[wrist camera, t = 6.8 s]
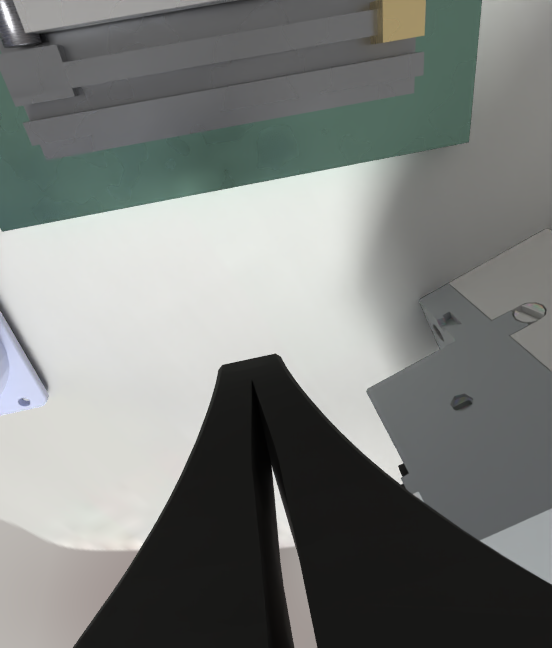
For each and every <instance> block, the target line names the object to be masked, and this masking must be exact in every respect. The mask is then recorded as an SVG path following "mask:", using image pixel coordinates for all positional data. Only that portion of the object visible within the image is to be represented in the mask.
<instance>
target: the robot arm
mask: <svg viewBox="0 0 552 648" xmlns="http://www.w3.org/2000/svg"><path fill="white" fill-rule="evenodd" d="M48 397H49V395H48V392H47V391H46V389H45V387H44V386H43V384H42V382H41V380H40V379H39V377H38V375H37V373H36V372H35V370H34V368H33V367H32V365H31V363H30V361H29V360H28V358H27V356H26V354H25V353H24V351H23V349H22V348H21V346H20V344H19V342H18V341H17V339H16V337H15V336H14V334H13V332H12V330H11V329H10V327H9V325H8V323H7V322H6V320H5V318H4V317H3V315H2V313H1V311H0V416H1V415H5V414H10V413H14V412H19V411H24V410H28V409H33V408H38V407H41V406H44V405H45V404H46V402H47V400H48ZM22 398H26V399H28V400H29V401H25V400H23V399H22ZM272 468H273V471H274V475H275V478H276V482H277V485H278V488H279V492H280V495H281V499H282V502H283V505H284V509H285V512H286V515H287V519H288V522H289V526H290V529H291V532H292V536H293V539H294V543H295V546H296V549H297V553H298V556H299V560H300V565H301V570H302V574H303V579H304V584H305V589H306V594H307V599H308V603H309V608H310V613H311V618H312V623H313V628H314V633H315V638H316V643H317V648H552V584H550V583H548V582H547V581H545V580H543V579H541V578H540V577H538V576H536V575H535V574H533V573H531V572H530V571H528V570H526V569H525V568H523V567H521V566H520V565H518V564H516V563H515V562H513V561H511V560H510V559H508V558H506V557H505V556H503V555H501V554H500V553H498V552H497V551H495V550H494V549H492V548H491V547H489V546H487V545H486V544H484V543H483V542H481V541H480V540H478V539H476V538H475V537H473V536H472V535H470V534H469V533H467V532H466V531H464V530H462V529H461V528H460V527H458V526H457V525H455V524H454V523H453V522H451V521H450V520H448V519H447V518H446V517H444V516H443V515H441V514H440V513H438V512H437V511H436V510H434V509H433V508H431V507H430V506H429V505H427V504H426V503H424V502H423V501H422V500H420V499H419V498H417V497H416V496H415V495H413V494H412V493H410V492H409V491H408V490H407V489H405V488H404V487H403V486H402V485H400V484H399V483H398V482H396V481H395V480H394V479H393V478H391V477H390V476H389V475H388V474H386V473H385V472H384V471H383V470H382V469H381V468H379V467H378V466H377V465H376V464H375V463H373V462H372V461H371V460H370V459H369V458H368V457H366V456H365V455H364V454H363V453H362V452H361V451H360V450H359V449H358V448H357V447H356V446H354V445H353V444H352V443H351V442H350V441H349V440H348V439H347V438H346V437H345V436H344V435H343V434H342V433H341V432H340V431H339V430H338V429H337V428H336V427H335V426H334V425H333V424H332V423H331V422H330V421H329V420H328V419H327V417H326V416H325V415H324V414H323V413H322V412H321V411H320V410H319V408H318V407H317V406H316V405H315V404H314V403H313V402H312V400H311V399H310V398H309V397H308V396H307V395H306V393H305V392H304V391H303V390H302V388H301V387H300V386H299V384H298V383H297V382H296V380H295V379H294V378H293V376H292V375H291V373H290V372H289V370H288V369H287V367H286V366H285V364H284V362H283V360H282V358H281V357H280V356H279V355H277V354H272V355H267V356H262V357H258V358H253V359H248V360H244V361H239V362H234V363H230V364H225V365H222V366H221V367H220V369H219V370H218V376H217V380H216V384H215V388H214V392H213V395H212V398H211V402H210V405H209V408H208V411H207V413H206V416H205V419H204V422H203V424H202V427H201V430H200V432H199V435H198V438H197V440H196V443H195V445H194V447H193V449H192V452H191V454H190V456H189V458H188V461H187V463H186V465H185V467H184V470H183V472H182V474H181V476H180V478H179V480H178V482H177V484H176V486H175V488H174V490H173V492H172V494H171V496H170V498H169V500H168V502H167V504H166V505H165V507H164V509H163V511H162V513H161V514H160V516H159V518H158V520H157V522H156V523H155V525H154V527H153V529H152V530H151V532H150V534H149V535H148V537H147V538H146V540H145V542H144V543H143V545H142V547H141V548H140V550H139V552H138V553H137V555H136V557H135V558H134V560H133V562H132V563H131V565H130V566H129V568H128V569H127V571H126V572H125V574H124V575H123V577H122V578H121V580H120V582H119V583H118V585H117V586H116V587H115V589H114V590H113V592H112V593H111V595H110V596H109V597H108V599H107V600H106V602H105V603H104V605H103V606H102V607H101V609H100V610H99V611H98V613H97V614H96V616H95V617H94V619H93V620H92V621H91V623H90V624H89V626H88V627H87V628H86V630H85V631H84V633H83V634H82V636H81V637H80V638H79V640H78V641H77V643H76V644H75V645H74V647H73V648H294V643H293V638H292V632H291V627H290V620H289V615H288V609H287V603H286V598H285V592H284V587H283V579H282V572H281V563H280V553H279V542H278V531H277V520H276V509H275V497H274V487H273V476H272Z"/></svg>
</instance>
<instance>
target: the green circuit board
mask: <svg viewBox="0 0 552 648" xmlns="http://www.w3.org/2000/svg"><path fill="white" fill-rule="evenodd" d="M481 4H482V0H237V1H231V2H225V3H219V4H213V5H207V6H201V7H196V8H190V9H184V10H178V11H172V12H166V13H160V14H154V15H149V16H143V17H137V18H131V19H125V20H119V21H113V22H107V23H101V24H96V25H90V26H84V27H78V28H72V29H66V30H60V31H54V32H49V33H43V34H39V37H40V39H41V42H42V43H40V44H36V45H31V46H25V47H17V48H4V46H3V44H2V41H1V39H0V228H1V230H2V231H8V230H13V229H18V228H23V227H29V226H34V225H39V224H44V223H49V222H55V221H60V220H65V219H70V218H76V217H81V216H86V215H91V214H96V213H102V212H107V211H112V210H117V209H123V208H128V207H133V206H138V205H144V204H149V203H154V202H159V201H164V200H170V199H175V198H180V197H185V196H191V195H196V194H201V193H206V192H211V191H217V190H222V189H227V188H232V187H238V186H243V185H248V184H253V183H258V182H264V181H269V180H274V179H279V178H285V177H290V176H295V175H300V174H305V173H311V172H316V171H321V170H326V169H332V168H337V167H342V166H347V165H353V164H358V163H363V162H368V161H373V160H379V159H384V158H389V157H394V156H400V155H405V154H410V153H415V152H420V151H426V150H431V149H436V148H441V147H447V146H452V145H457V144H462V143H467V142H469V135H470V124H471V113H472V102H473V91H474V80H475V70H476V59H477V48H478V37H479V26H480V15H481Z"/></svg>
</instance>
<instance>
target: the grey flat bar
mask: <svg viewBox="0 0 552 648" xmlns="http://www.w3.org/2000/svg"><path fill="white" fill-rule="evenodd" d="M231 1H237V0H0V39H1V41H2V44H3V46H4V48H17V47H25V46H31V45H36V44H40V43H42V42H41V39H40V37H39V34H43V33H49V32H54V31H60V30H66V29H72V28H78V27H84V26H90V25H96V24H101V23H107V22H113V21H119V20H125V19H131V18H137V17H143V16H149V15H154V14H160V13H166V12H172V11H178V10H184V9H190V8H196V7H201V6H207V5H213V4H219V3H225V2H231Z"/></svg>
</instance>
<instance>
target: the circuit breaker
mask: <svg viewBox="0 0 552 648" xmlns="http://www.w3.org/2000/svg"><path fill="white" fill-rule="evenodd" d="M419 302H420V304H421V307H422V309H423V311H424V314H425V316H426V318H427V320H428V323H429V325H430V327H431V330H432V332H433V334H434V337H435V339H436V341H437V343H438V346H439V348H440V350H438V351H436V352H435V353H433V354H431V355H429V356H427V357H425V358H424V359H422V360H420V361H418V362H416V363H414V364H412V365H411V366H409V367H407V368H405V369H403V370H401V371H400V372H398V373H396V374H394V375H392V376H390V377H388V378H387V379H385V380H383V381H381V382H379V383H377V384H376V385H374V386H372V387H370V388H368V389H367V391H366V392H367V394H368V396H369V398H370V400H371V402H372V403H373V405H374V407H375V409H376V411H377V413H378V415H379V417H380V419H381V421H382V423H383V425H384V426H385V428H386V430H387V432H388V434H389V436H390V438H391V440H392V442H393V444H394V446H395V448H396V449H397V451H398V453H399V455H400V457H401V459H402V461H403V464H401V465H399V466H398V467H399V470H400V472H401V474H402V476H403V477H402V478H401V479H402V481H403V483H404V484H402V486H403V487H404V488H405V489H407V490H408V491H409V492H410V493H412V494H413V495H415V496H416V497H417V498H419V499H420V500H422V501H423V502H424V503H426V504H427V505H429V506H430V507H431V508H433V509H434V510H436V511H437V512H438V513H440V514H441V515H443V516H444V517H446V518H447V519H448V520H450V521H451V522H453V523H454V524H455V525H457V526H458V527H460V528H461V529H462V530H464V531H466V532H467V533H469V534H470V535H472V536H473V537H475V538H476V539H478V540H480V541H481V542H483V543H484V544H486V545H487V546H489V547H491V548H492V549H494V550H495V551H497V552H498V553H500V554H501V555H503V556H505V557H506V558H508V559H510V560H511V561H513V562H515V563H516V564H518V565H520V566H521V567H523V568H525V569H526V570H528V571H530V572H531V573H533V574H535V575H536V576H538V577H540V578H541V579H543V580H545V581H547V582H548V583H550V584H552V230H549V229H547V228H546V229H544V230H543V231H541V232H539V233H537V234H535V235H534V236H532V237H530V238H528V239H526V240H525V241H523V242H521V243H519V244H518V245H516V246H514V247H512V248H510V249H509V250H507V251H505V252H503V253H501V254H500V255H498V256H496V257H494V258H492V259H491V260H489V261H487V262H485V263H484V264H482V265H480V266H478V267H476V268H475V269H473V270H471V271H469V272H467V273H466V274H464V275H462V276H460V277H459V278H457V279H455V280H453V281H451V282H450V283H449V284H446V285H444V286H442V287H441V288H439V289H437V290H435V291H434V292H432V293H430V294H428V295H427V296H425V297H423V298H421V299H420V300H419Z"/></svg>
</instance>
